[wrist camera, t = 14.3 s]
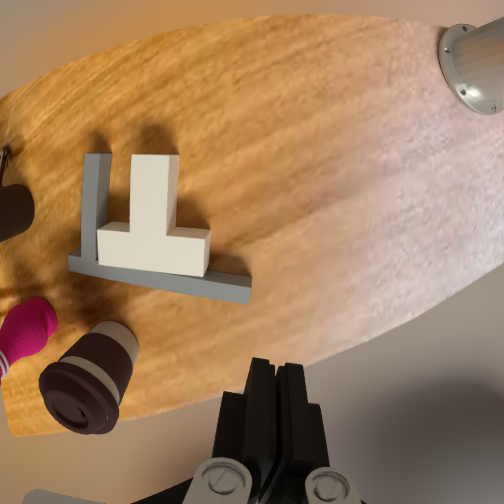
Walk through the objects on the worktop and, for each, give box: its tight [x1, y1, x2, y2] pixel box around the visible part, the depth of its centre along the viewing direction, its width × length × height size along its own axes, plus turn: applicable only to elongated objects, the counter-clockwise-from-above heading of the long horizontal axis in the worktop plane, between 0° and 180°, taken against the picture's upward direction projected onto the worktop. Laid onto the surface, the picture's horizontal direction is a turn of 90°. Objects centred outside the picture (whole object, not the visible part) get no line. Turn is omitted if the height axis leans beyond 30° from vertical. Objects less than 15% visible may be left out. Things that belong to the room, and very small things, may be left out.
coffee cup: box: [39, 321, 139, 435], centre depth 33 cm, size 10×10×15 cm
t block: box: [97, 154, 211, 277], centre depth 33 cm, size 12×12×4 cm
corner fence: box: [68, 153, 252, 304], centre depth 34 cm, size 22×14×3 cm, turn 81°
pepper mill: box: [0, 297, 57, 386], centre depth 30 cm, size 7×7×20 cm
